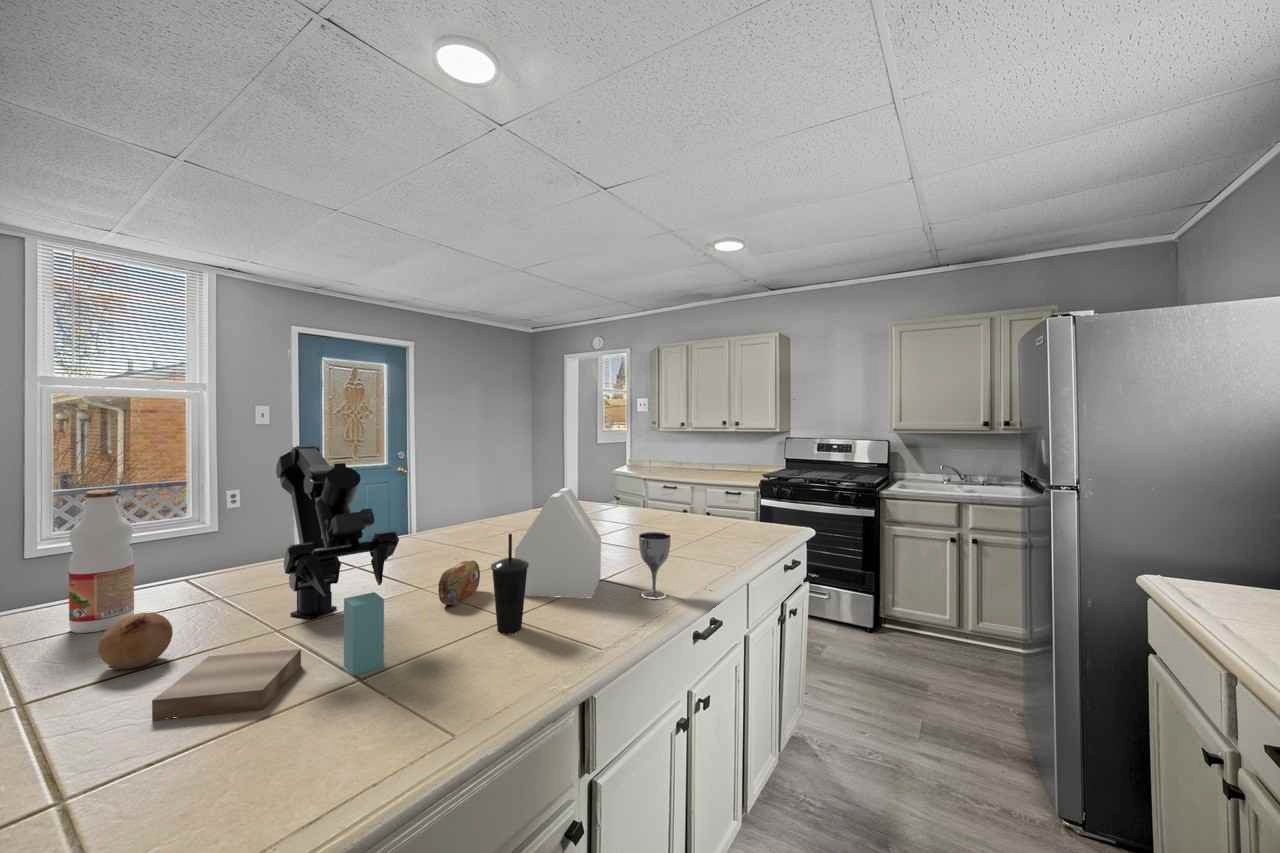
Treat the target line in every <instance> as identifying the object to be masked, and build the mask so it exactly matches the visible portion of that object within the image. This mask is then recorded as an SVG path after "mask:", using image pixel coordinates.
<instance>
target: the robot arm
mask: <svg viewBox="0 0 1280 853" xmlns="http://www.w3.org/2000/svg"><path fill="white" fill-rule="evenodd" d="M275 469H276V470H275V473H276V477H277V479H279V481H280V485H281V488H282V489H283V490H285V491H286V492H288V493H289V494H290V495H291V501H292V507H293V513H294V518H295V524H296V530H297V536H298V541H299V543H297V544H290V545H289V546H288V547H287V549H286V552H285V556H284V558H283V568H284V574H286V575H289V576H288V582H289V588H291V590H292V591H293V592H295V593H296V610H295V611H292V612H290V614H289V615H290V616H292V617H297V618H303V619H310V620H313V619H316V618H317V617H320V616H322V615H325V614H328V613H330V612H333V611H335V610H337V609H338V608H337V606H335V605H333V604H332V600H333V598H332V596H333V595H332V594H333V593H332V590H331V588H332V585H334V584H338V583H339V578H340V571H341V570H340V569H341V566H342V562H340V560H339V557H346V556H351V555H356V554H357V555H358V554H363V553H370V557H371V559H370V562H371V566H372V571H373V573H374V578H375V581H376V583H377V586H381V585H382V583H383V576H384V566H385V562H386V561H387V560H388V558H389V557H391V556H393V555H394V552H395V551H396V548H397V546H398V545H399V542H400V538H399V535H398V533H397V532H396V531H393V530H389V531H383V532H374V535H373V537H372V538H371V539H372V540H370V541H362V542H360V539H362V538H363V535H364V534H363V530H365V529H366V527H371V526H372V525H374V523H375V515H374V511H373V510H372V507H370V508H362V509H361V510H360V511H356V512H355V511H354V512H352V511H351V510H352V509H351V508H350V504H352V503H353V502H354V499H355V496H356V494H357V491H358V488H359V485H360V483H361V474H360V473H358V471H357V470H355V469H354V468H352V467H348V466H347V465H346V463H345V462H338V463H333V465H330V464H329V463H328V461H327V460H326V459H325V458H324V456H323V455H322V453H321V452H320V448H319V445H318V446H316V445H296V446H293V447H292V448H291V450H290V451H289V452H286V453H285V454H283V455H281V456H279V459H278V461H277V463H276V467H275ZM316 499H317V501H316Z"/></svg>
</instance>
